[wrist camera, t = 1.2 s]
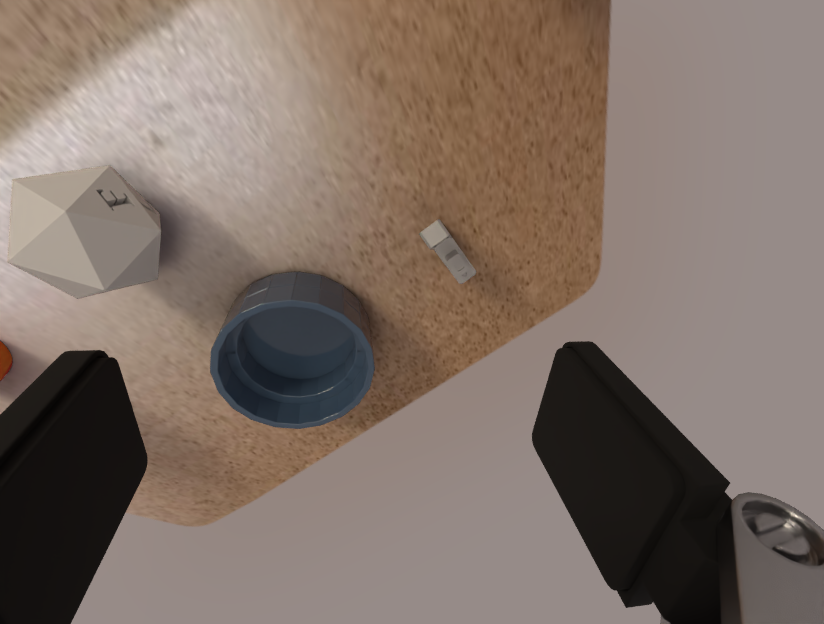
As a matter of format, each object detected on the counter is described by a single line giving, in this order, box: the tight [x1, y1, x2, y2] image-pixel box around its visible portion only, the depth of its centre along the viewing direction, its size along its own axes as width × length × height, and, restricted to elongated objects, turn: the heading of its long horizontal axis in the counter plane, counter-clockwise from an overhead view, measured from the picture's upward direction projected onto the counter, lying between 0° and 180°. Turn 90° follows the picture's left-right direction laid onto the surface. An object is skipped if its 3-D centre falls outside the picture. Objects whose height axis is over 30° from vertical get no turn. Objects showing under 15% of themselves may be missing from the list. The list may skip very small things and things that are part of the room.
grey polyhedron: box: [7, 166, 161, 299], centre depth 29 cm, size 8×9×10 cm
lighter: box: [419, 219, 476, 284], centre depth 34 cm, size 7×2×8 cm, turn 36°
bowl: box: [210, 272, 375, 429], centre depth 37 cm, size 13×13×6 cm
